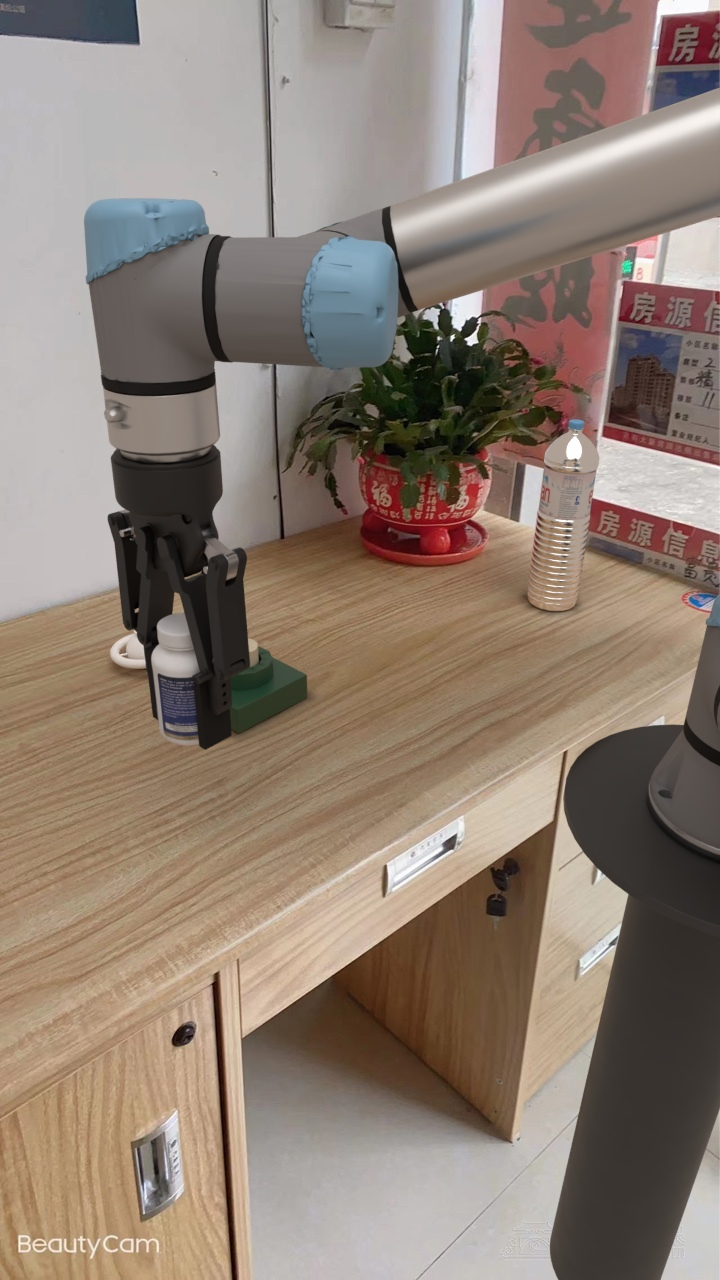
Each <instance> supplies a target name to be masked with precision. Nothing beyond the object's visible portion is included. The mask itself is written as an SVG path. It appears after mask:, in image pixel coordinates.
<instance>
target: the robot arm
mask: <svg viewBox="0 0 720 1280" xmlns="http://www.w3.org/2000/svg"><path fill="white" fill-rule="evenodd" d="M718 217H720V87H717V88H714V89H711V90H709V91H706V92H704V93H701V94H697V95H695V96H693V97H689V98H686V99H684V100H682V101H678V102H675V103H673V104H670V105H667V106H664V107H662V108H659V109H655V110H652V111H649V112H647V113H645V114H642V115H638V116H636V117H634V118H631V119H628V120H625V121H622V122H619V123H617V124H613V125H610V126H608V127H604V128H603V129H599V130H597V131H594V132H591V133H588V134H586V135H583V136H580V137H576V138H575V139H571V140H569V141H566V142H564V143H560V144H557V145H555V146H552V147H550V148H547V149H544V150H541V151H537V152H535V153H532V154H530V155H527V156H524V157H520V158H518V159H515V160H513V161H510V162H506V163H504V164H502V165H499V166H496V167H493V168H489V169H488V170H484V171H482V172H479V173H477V174H476V173H475V174H473V175H470V176H468V177H464V178H462V179H459V180H457V181H454V182H451V183H448V184H445V185H443V186H440V187H439V186H438V187H437V188H434V189H432V190H429V191H426V192H423V193H420V194H418V195H415V196H412V197H409V198H406V199H403V200H400V201H397V202H395V203H392V204H391V205H389V206H385V207H383V208H379V209H376V210H372V211H370V212H367V213H364V214H361V215H358V216H355V217H353V218H349V219H347V220H344V221H343V220H342V221H339V222H335V223H331V224H329V225H327V226H323V227H321V228H319V229H318V230H316V231H313V232H308V233H305V234H301V235H298V236H287V237H286V236H285V237H284V236H271V237H269V236H268V237H267V236H266V237H265V236H263V237H262V236H260V237H258V236H257V237H255V236H254V237H251V236H249V237H232V236H230V235H221V234H216V233H215V234H213V233H210V227H209V226H208V224H207V221H206V212H205V209H204V207H203V206H202V204H200V203H199V202H198V201H196V200H193V199H184V198H183V199H180V198H179V199H177V198H157V197H155V198H154V197H153V198H151V197H145V198H143V197H141V198H140V197H139V198H138V197H135V198H134V197H131V198H130V197H129V198H124V197H123V198H103V199H99V200H96V201H94V202H92V203H91V204H90V205H89V206H88V207H87V209H86V211H85V212H84V218H83V227H84V228H83V229H84V244H85V245H84V246H85V258H86V259H85V260H86V275H85V283H86V285H88V289H89V296H90V304H91V309H92V317H93V324H94V325H93V326H94V332H95V338H96V339H95V340H96V346H97V352H98V353H97V354H98V359H99V367H100V380H101V385H102V390H103V399H104V408H105V409H104V412H103V416H104V419H105V420H106V425H107V432H108V433H107V434H108V435H107V436H108V442H109V444H110V445H111V446H112V447H113V448H115V450H114V451H113V453H112V454H111V455H110V464H111V465H110V466H111V473H112V481H113V489H114V497H115V500H116V503H117V504H118V505H119V506H120V507H121V508H122V509H120V510H117V511H115V512H111V513H109V514H108V515H107V523H108V527H109V529H110V530H109V531H110V534H111V537H112V539H113V540H112V541H113V543H114V551H115V552H114V553H115V561H116V572H117V579H118V580H117V581H118V589H119V598H120V606H121V608H120V609H121V615H122V624H123V626H124V628H125V629H126V630H127V631H128V632H130V631H134V630H135V631H136V632H137V638H138V640H139V642H140V643H141V644H142V645H143V647H144V655H145V662H146V668H145V670H146V672H147V673H146V674H147V677H148V678H147V679H148V680H147V681H148V687H149V688H148V689H149V695H150V697H149V698H150V703H151V712H152V718H154V719H156V721H158V715H157V707H156V698H155V689H154V681H153V672H152V662H151V656H152V653H153V651H154V649H155V648H156V647H157V646H158V645H159V641H158V634H157V624H158V622H159V621H160V620H161V619H162V618H164V617H166V616H168V615H172V614H173V611H174V601H175V594H178V595H179V597H180V598H179V599H180V601H181V605H182V609H183V612H184V613H185V617H186V621H187V625H188V628H189V632H190V636H191V640H192V644H193V647H194V651H195V655H196V659H197V663H198V667H199V670H200V672H199V673H197V674H195V675H192V677H193V683H194V694H195V705H196V716H197V727H198V738H199V745H198V746H199V747H200V748H201V749H203V750H204V751H206V750H208V749H210V748H212V747H214V746H216V745H217V744H219V743H221V742H223V741H225V740H226V739H229V738H231V737H232V735H233V734H232V733H233V732H232V729H231V718H230V708H231V706H232V693H231V692H232V691H231V677H233V676H235V675H237V674H239V673H241V672H243V671H245V670H247V669H249V668H250V656H249V644H248V638H249V633H248V622H247V609H246V598H245V585H244V584H245V583H244V576H245V572H246V567H247V563H248V556H247V553H246V551H245V550H244V548H242V547H236V548H233V549H230V548H229V547H227V546H226V545H225V544H224V543H223V542H221V541H220V540H219V539H220V538H219V531H218V528H217V525H216V523H215V520H214V514H213V513H214V509H215V507H216V506H217V504H218V503H219V501H220V500H221V498H223V497H222V496H223V493H224V488H223V487H224V486H223V473H222V471H223V470H222V459H221V458H222V456H221V451H220V450H219V448H217V446H216V445H215V444H217V442H218V441H219V440H220V437H221V429H220V415H219V405H218V404H219V403H218V391H217V379H216V377H217V376H216V369H215V365H216V364H215V363H216V362H220V363H231V364H232V363H246V364H263V365H279V366H280V365H282V366H295V367H296V366H297V367H298V366H299V367H312V368H313V367H315V368H326V369H329V370H331V371H341V370H343V369H346V368H347V369H348V368H377V367H380V366H382V365H384V364H386V362H387V361H388V360H389V359H390V358H391V355H392V353H393V349H394V343H395V340H396V334H397V328H398V327H397V326H398V319H399V318H401V317H404V316H408V315H410V314H412V313H414V312H418V311H420V310H421V311H422V309H426V308H430V307H433V306H436V305H439V304H443V303H446V302H449V301H452V300H455V299H459V298H461V297H465V296H469V295H472V294H474V293H478V292H481V291H484V290H485V291H486V290H487V289H491V288H493V287H497V286H500V285H503V284H507V283H510V282H513V281H517V280H519V279H522V278H526V277H529V276H533V275H535V274H538V273H543V272H545V271H548V270H551V269H555V268H558V267H561V266H565V265H567V264H571V263H574V262H577V261H580V260H583V259H584V260H585V259H586V258H590V257H593V256H596V255H599V254H603V253H605V252H609V251H612V250H615V249H619V248H621V247H625V246H628V245H631V244H635V243H638V242H641V241H644V240H648V239H650V238H653V237H657V236H660V235H664V234H666V233H670V232H673V231H676V230H677V231H678V230H680V229H683V228H686V227H689V226H693V225H696V224H699V223H702V222H705V221H708V220H711V219H715V218H718ZM188 577H189V578H188ZM137 609H138V611H136V610H137ZM705 625H706V627H705V631H704V636H703V640H702V644H701V648H700V654H699V657H698V662H697V666H696V671H695V674H694V679H693V684H692V688H691V691H690V696H689V701H688V705H687V709H686V712H685V718H684V721H683V725H684V726H683V729H682V732H681V733H680V734H679V736H678V737H677V739H676V740H675V742H674V743H673V744H672V746H671V747H670V749H669V750H668V751H667V753H666V754H665V756H664V757H663V758H662V760H661V761H660V763H659V764H658V765H657V767H656V768H655V770H654V772H653V774H652V776H651V778H650V782H649V787H648V791H647V798H646V801H647V806H648V810H649V812H650V815H651V816H652V818H653V820H654V821H655V823H656V824H657V825H658V826H659V828H660V829H661V830H662V831H663V832H664V833H665V834H666V835H667V836H669V837H670V838H671V839H672V840H674V841H675V842H676V843H678V844H679V845H681V846H682V847H684V848H686V849H687V850H689V851H691V852H693V853H695V854H697V855H699V856H701V857H703V858H706V859H708V860H711V861H713V862H716V863H719V864H720V593H718V594H717V595H716V597H715V598H714V601H713V603H712V606H711V609H710V613H709V617H708V618H706V619H705Z"/></svg>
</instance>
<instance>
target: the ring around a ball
mask: <svg viewBox="0 0 720 1280" xmlns="http://www.w3.org/2000/svg"><path fill="white" fill-rule="evenodd" d="M124 648H125V652H123V653H120V652H121V651H122V650H123V649H124ZM109 656H110V659H111V660H112V662H113V663H115V664H116V665H118V666H120V667H123V668H126V669H131V670H132V669H134V670H139V669H140V670H141V669H143V670H144V669H146V662H145V655H144V647H143V645H142V644H141V643H140V642H139V640H138V638H137V632H136V631H135V630H134V629H133V633H131V634H128V635H126V636H124V637H121V638H120V639H118V640H117V641H116V642H115V643H113V645H112V646H111V648H110V651H109ZM126 656H127V657H126Z"/></svg>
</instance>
